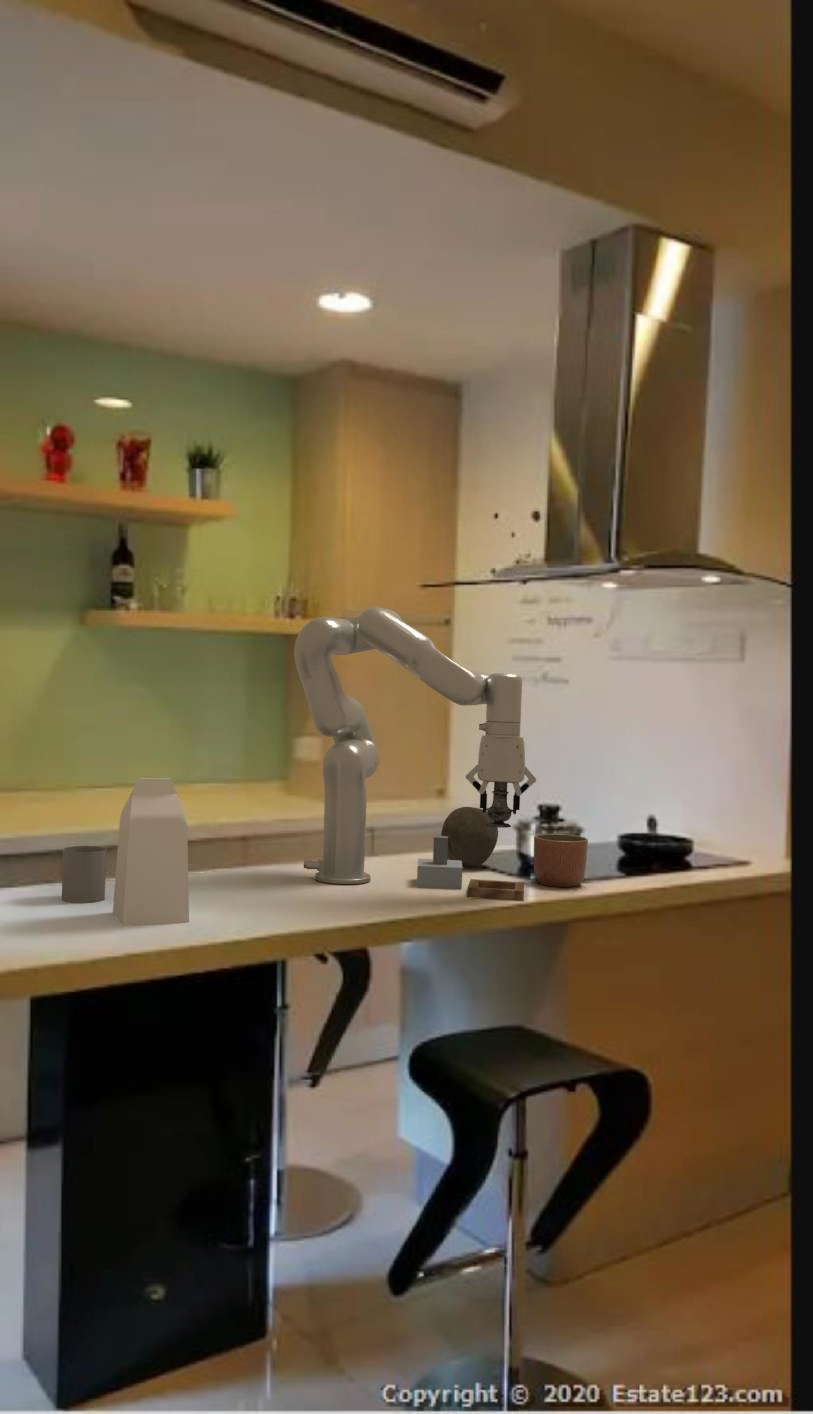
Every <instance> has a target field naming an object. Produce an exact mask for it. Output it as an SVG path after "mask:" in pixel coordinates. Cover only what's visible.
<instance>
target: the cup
mask: <svg viewBox="0 0 813 1414" xmlns="http://www.w3.org/2000/svg"><path fill="white" fill-rule="evenodd" d="M106 871H107V848H106V847H103V846H97V845H96V846H95V845H75V846H67V847H64V848H63V849H62V874H61V880H62V881H61V901H62V902H63V903H64V902H65V903H70V904H82V905H83V904H94V903H99V902H100V903H101V902H103V901H105V899H106V878H107V877H106V876H107V875H106V874H107V873H106Z"/></svg>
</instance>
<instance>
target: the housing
mask: <svg viewBox="0 0 813 1414" xmlns="http://www.w3.org/2000/svg"><path fill="white" fill-rule="evenodd" d="M447 855H448V836H441V835H433V852H432V859H431V858H418V860H417V868H416V869H417V870H416V872H417V873H416V888H419V889H422V888H423V889H424V888H425V889H446V890H447V889H448V890H462V888H463V887H462V886H463V868H462V861H461V860H450V859H448V857H447Z"/></svg>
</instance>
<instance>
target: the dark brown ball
mask: <svg viewBox="0 0 813 1414" xmlns="http://www.w3.org/2000/svg"><path fill="white" fill-rule="evenodd" d="M487 813H488V811H487V810H486V812H485V813H483V808H480V807H473V806H461V807H458V808H456V809H454V810H452V811H451V812H450V813H449V814H448V815H447V817H446V818H445V819H444V823H443V825H442V828H441V833H440V836H448V855H447V859H448V860H461V861H462V869H475V868H477V867H480V866H482V865H483V864H484V863H485V862H486V861H488V860H489V858H490V857H491V855H492V853H493V851H494V850H495V848H496V845H497V843H498V840H499V839H498V838H499V828H498V827H490V826H487V824H489V823H491V822H494V821H493V820H491V819H490V818H489V817H488V814H487Z"/></svg>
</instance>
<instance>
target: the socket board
mask: <svg viewBox="0 0 813 1414" xmlns="http://www.w3.org/2000/svg"><path fill="white" fill-rule="evenodd" d="M466 894H467V895H466V896H467V898H472V899H488V900H491V899H492V900H504V901H505V900H506V901H519V900H523V901H524V900H525V899H524V897H525V895H524V894H525V882H524V881H509V880H506V881H505V880H494V879H493V880H491V879H476V878H474V879H473V878H470V880H469V882H468V885H467V893H466ZM523 901H522V902H523Z"/></svg>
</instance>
